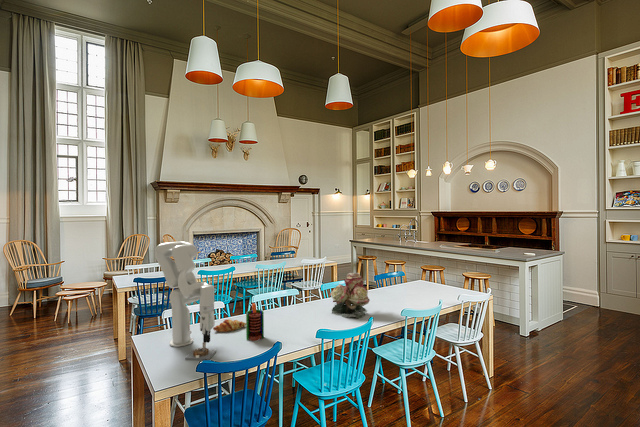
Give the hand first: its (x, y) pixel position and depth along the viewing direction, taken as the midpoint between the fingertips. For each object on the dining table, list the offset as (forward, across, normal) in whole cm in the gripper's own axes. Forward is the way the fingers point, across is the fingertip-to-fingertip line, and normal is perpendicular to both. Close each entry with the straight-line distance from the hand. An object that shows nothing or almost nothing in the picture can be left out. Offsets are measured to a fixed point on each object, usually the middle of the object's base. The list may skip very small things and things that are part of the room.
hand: (206, 341), depth 189 cm
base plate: (+6, -4, +1) cm, 7 cm away
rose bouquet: (+5, +70, -82) cm, 108 cm away
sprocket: (+5, -4, +1) cm, 7 cm away
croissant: (+7, +36, -2) cm, 36 cm away
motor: (+6, +21, -21) cm, 30 cm away
